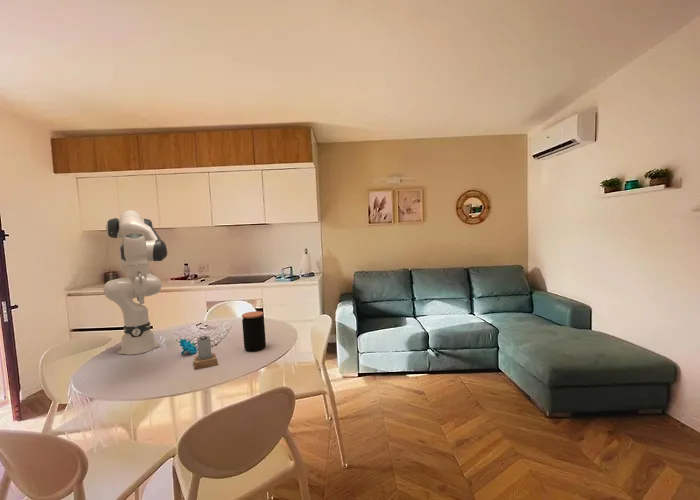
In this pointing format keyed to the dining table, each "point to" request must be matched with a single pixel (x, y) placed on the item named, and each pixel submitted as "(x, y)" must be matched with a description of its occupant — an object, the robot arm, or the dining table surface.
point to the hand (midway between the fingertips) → (140, 302)
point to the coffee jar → (253, 331)
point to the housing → (204, 348)
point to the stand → (205, 362)
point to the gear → (188, 346)
